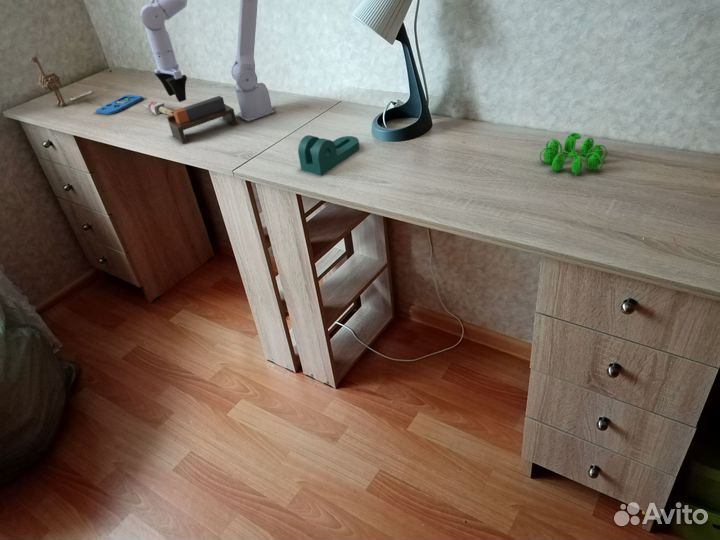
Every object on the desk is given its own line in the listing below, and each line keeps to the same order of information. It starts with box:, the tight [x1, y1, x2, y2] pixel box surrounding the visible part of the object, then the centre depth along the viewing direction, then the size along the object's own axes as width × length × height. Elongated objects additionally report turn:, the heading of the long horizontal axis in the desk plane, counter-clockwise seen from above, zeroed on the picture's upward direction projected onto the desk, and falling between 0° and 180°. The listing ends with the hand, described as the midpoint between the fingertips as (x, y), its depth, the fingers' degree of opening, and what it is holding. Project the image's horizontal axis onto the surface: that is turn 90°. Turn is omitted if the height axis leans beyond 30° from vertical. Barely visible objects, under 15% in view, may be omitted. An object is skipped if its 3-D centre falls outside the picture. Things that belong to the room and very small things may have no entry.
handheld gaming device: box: [95, 94, 144, 115], centre depth 196 cm, size 8×1×15 cm
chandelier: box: [539, 132, 609, 176], centre depth 129 cm, size 15×15×7 cm
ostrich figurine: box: [29, 55, 93, 108], centre depth 201 cm, size 17×7×18 cm, turn 144°
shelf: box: [166, 103, 238, 144], centre depth 169 cm, size 18×8×6 cm, turn 127°
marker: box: [172, 95, 226, 124], centre depth 166 cm, size 15×3×4 cm, turn 127°
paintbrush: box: [141, 101, 174, 116], centre depth 186 cm, size 4×3×20 cm
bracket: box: [297, 134, 360, 177], centre depth 144 cm, size 18×7×8 cm, turn 143°
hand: (177, 97), depth 165 cm, fingers open, 7 cm apart
